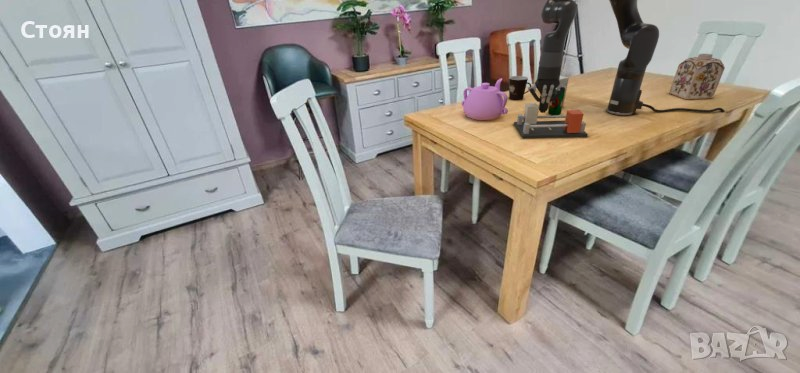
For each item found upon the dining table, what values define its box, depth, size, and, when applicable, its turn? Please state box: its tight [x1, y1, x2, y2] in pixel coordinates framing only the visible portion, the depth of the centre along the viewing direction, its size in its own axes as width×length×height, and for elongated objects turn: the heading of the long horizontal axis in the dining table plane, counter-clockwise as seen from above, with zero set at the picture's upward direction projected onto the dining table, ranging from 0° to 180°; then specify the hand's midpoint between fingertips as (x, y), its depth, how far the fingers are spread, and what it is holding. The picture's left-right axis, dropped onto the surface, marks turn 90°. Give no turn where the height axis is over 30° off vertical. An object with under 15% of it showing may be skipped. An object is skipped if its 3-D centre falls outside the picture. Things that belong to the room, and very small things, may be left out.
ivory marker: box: [523, 102, 539, 124], centre depth 127 cm, size 4×4×7 cm
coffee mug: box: [508, 75, 532, 102], centre depth 160 cm, size 12×9×10 cm
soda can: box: [547, 84, 567, 116], centre depth 138 cm, size 5×5×12 cm
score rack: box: [513, 113, 588, 139], centre depth 124 cm, size 22×15×5 cm
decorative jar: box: [668, 53, 726, 100], centre depth 148 cm, size 12×12×18 cm
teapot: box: [461, 77, 509, 121], centre depth 142 cm, size 22×22×14 cm
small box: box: [548, 75, 570, 109], centre depth 147 cm, size 8×6×13 cm
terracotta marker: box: [564, 109, 585, 133], centre depth 117 cm, size 4×4×7 cm
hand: (542, 112), depth 127 cm, fingers closed
